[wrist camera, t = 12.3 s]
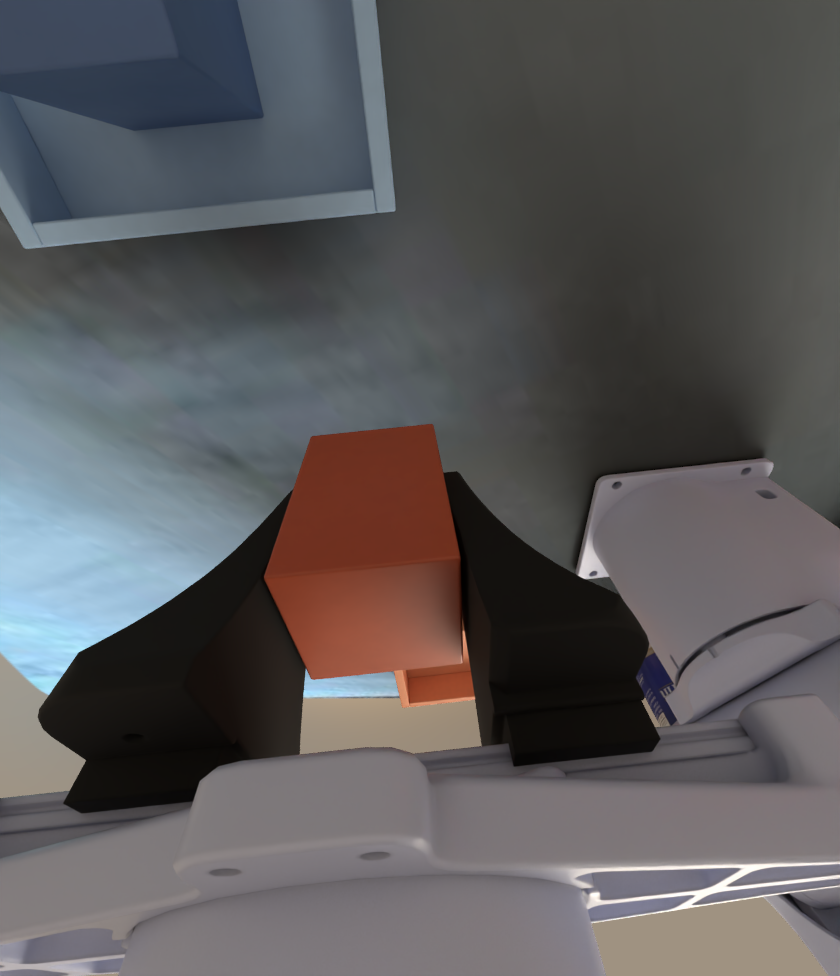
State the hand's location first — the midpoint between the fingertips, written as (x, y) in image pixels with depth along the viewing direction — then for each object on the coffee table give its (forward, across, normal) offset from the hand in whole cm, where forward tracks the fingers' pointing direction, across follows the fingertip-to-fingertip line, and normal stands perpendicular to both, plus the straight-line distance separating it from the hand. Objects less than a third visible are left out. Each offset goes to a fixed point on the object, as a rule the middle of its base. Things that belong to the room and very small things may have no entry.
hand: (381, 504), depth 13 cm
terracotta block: (+1, 0, 0) cm, 1 cm away
